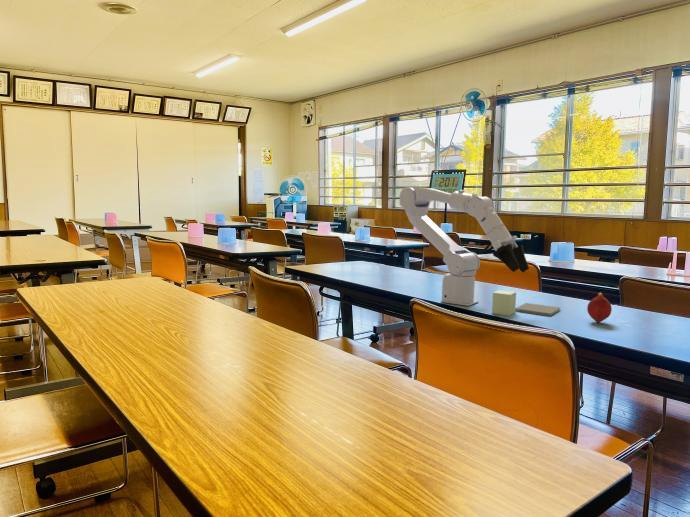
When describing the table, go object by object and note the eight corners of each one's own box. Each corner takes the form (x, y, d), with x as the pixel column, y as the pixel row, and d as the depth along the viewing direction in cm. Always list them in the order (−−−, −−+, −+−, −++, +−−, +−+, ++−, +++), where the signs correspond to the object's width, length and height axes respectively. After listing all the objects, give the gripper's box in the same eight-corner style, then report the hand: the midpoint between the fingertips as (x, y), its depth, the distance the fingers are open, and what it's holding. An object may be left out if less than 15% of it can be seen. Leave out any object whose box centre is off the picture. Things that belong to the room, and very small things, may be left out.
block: (491, 313, 146) (492, 292, 145) (498, 310, 150) (499, 290, 149) (509, 315, 143) (510, 294, 142) (515, 312, 147) (516, 292, 146)
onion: (613, 325, 133) (615, 295, 132) (589, 324, 134) (591, 294, 133) (606, 320, 138) (609, 291, 137) (584, 319, 139) (586, 290, 138)
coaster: (515, 311, 148) (515, 308, 148) (525, 305, 156) (525, 302, 156) (550, 316, 142) (550, 313, 142) (559, 310, 150) (560, 307, 150)
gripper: (497, 220, 141) (524, 261, 136) (516, 225, 152) (541, 263, 147) (477, 235, 144) (502, 275, 139) (497, 238, 156) (521, 276, 151)
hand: (521, 270), depth 144 cm, fingers open, 7 cm apart
